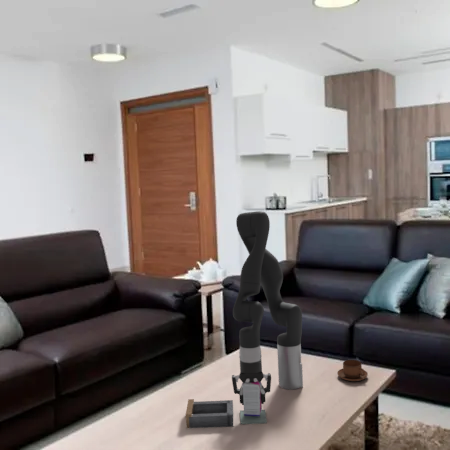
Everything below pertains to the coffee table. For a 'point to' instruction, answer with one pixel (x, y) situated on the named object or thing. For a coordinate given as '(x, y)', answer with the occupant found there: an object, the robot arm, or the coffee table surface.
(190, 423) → the grey wooden frame
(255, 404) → the supplement box
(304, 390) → the coffee table surface
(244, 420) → the rubber pad
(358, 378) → the cup and saucer
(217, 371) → the coffee table surface
